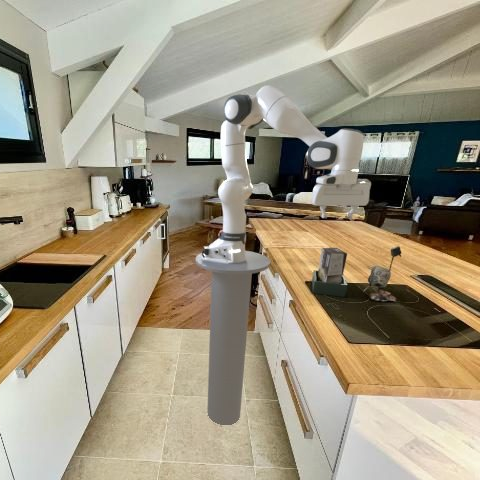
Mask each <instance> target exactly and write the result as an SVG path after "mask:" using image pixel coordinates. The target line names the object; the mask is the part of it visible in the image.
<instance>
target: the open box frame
mask: <svg viewBox="0 0 480 480" xmlns="http://www.w3.org/2000/svg"><path fill="white" fill-rule="evenodd" d="M317 276H318V270H317V269H316V270H315V269H313V272H312V279H311V285H312V294H314V295H315V294H316V295H323V296H332V297H341V298H345V297H346V293H347V289H348V283H347V280H346V277H345V275H344V273H343V277H342V282H341V284H339V283H329V282H320V281H317Z"/></svg>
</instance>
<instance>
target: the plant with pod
mask: <svg viewBox="0 0 480 480" xmlns="http://www.w3.org/2000/svg"><path fill="white" fill-rule="evenodd" d="M390 255H391V261H390V264H389V268H387V267H382V266H379V265H375V266H373V267H372V268H371V271H370V274H369V276H368V278H367V282H368V283H369V284H368V285H367V286H366V287H365V289H363V291H362V292H363V293H364V292H367V290H368V289H369V288H370V287H371V286H374V287H377V288H378V292H375V293H374V292H373V293H369V298H370V299H371V300H373V301H378V302H387V301H393V302H397V297H395V296H394V295H392V294H391V292H388V291H387V290H386V289H387V286H388V283H389V281H390V278H391V276H392V275H391V274H392V272H391V269H392V264H393V262H394V259H395V258H396V257H398V256H399V257H400V258H402V250H401V247H400V246H399V245H397V246H395V247H392V248H390ZM383 289H384V291H383Z"/></svg>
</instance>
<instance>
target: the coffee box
mask: <svg viewBox="0 0 480 480" xmlns="http://www.w3.org/2000/svg"><path fill="white" fill-rule="evenodd" d="M347 257H348V253H347V252H346V251H344V250H342V249H340V248H338V247H321V252H320V257H319V262H318V263H319V264H318V270H317V271H318V276H317V281H320V282H329V283H339V284H341V282H342V277H343V274H344V272H345V266H346V263H347V261H346V260H347Z"/></svg>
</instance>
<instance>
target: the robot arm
mask: <svg viewBox="0 0 480 480" xmlns="http://www.w3.org/2000/svg"><path fill="white" fill-rule="evenodd" d="M222 110H223V111H222V112H223V117H224V119H225V120H224V121H223V123H222V124H221V127H220V155H221V165H222V168H223V170H224V172H225V175H226V180H225V181H223V182H222V183H221V184H220V185H219V187H218V189H217V194H218V198H219V200H220V203H221V209H222V229H220V230H219V232H218V235H217V236H218V238H217V239H215V240H214V241H212V242H211V243H210V244H209V245H208V246H207V245H206V246H205V245H204V246H203V250H202V251H201V253H202V259H203V260H206V261H212V262H218V263H224V264H233V263H241V262H244V261H246V260H247V259H246V254H245V251H246V243H247V242H246V241H247V232H246V229H247V227H246V225H247V214H246V211H245V201H246V200H248V199H249V198H250V196H251V195H252V194H253V192H254V191H253V190H254V187H253V183H252V182H251V176H250V171H249V168H248V162H247V147H246V146H247V145H246V131H247V130H252V129H254V128H255V127H256V126H258V125H260V124H263V122H266V124H268V126H269V127H270V128H272V129H274V130H275V131H277V132H278V133H280V134H285V135H288V136H292V137H294V138H298V139H299V140H301V141H302V142H304V143H305V144H306V145H307V146H308V147H309V148H308V149H307V152H306V161H307V164H308V165H309V166H310V167H312V168H314V169H317V170H318V169H319V170H331V171H330V173H328V174H325V175H321V176H318V177H317V178H316V181H315V182H316V183H315V185H314V187H313V189H312V193H311V198H310V203H311V204H312V206H317V207H319V209H320V212H321V218H322V219H327V218H328V215H329V213H328V212H326V210H325V209H327V207H328V206H329V207H330V206H335V207H337V206H338V207H340V206H346V207H348V206H350V210H349V212H346V215H345V217H346V219H353V215H354V213H355V212H356V211H357V210H358V206H359V207H362V206H363V207H364V206H367V205H368V204H369V201H370V190H371V186H372V182H371V181H370V180H369V179H368V178H358V176H359V170H360V165H359V163H360V161H361V158H362V157H363V156H362V155H363V149H364V133H363V132H362V131H361V130H359V129H353V128H345V127H344V128H341V129H339V130H338V131H337V132H336V133H334V134H332V135H331V136H329V137H328V136H327V135H325V134H324V133H323V132H322V131H321V130H319V128H317V127H316V126H315V125H314V124H313V123H312V122H310V121H309V119H308V118H307V117H306V116H305V114H303V112H302V111H301V110H300V108H299V107H298V106H297V105H296V104H295V103H294V102H293V101H292V99H291V98H290V97H289V96H287V95H286V94H285V93H284V92H282V91H281V90H280V89H278V88H276V87H275V86H273V85H270V84H267V85H263V86H262V87H260V89H258V91H257V92H256V93H255V94H254V95H252V94H251V95H250V94H239V93H238V94H233V95H231V96H229V97H228V98H227V99H226V101H225V102H224V105H223V109H222Z"/></svg>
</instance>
